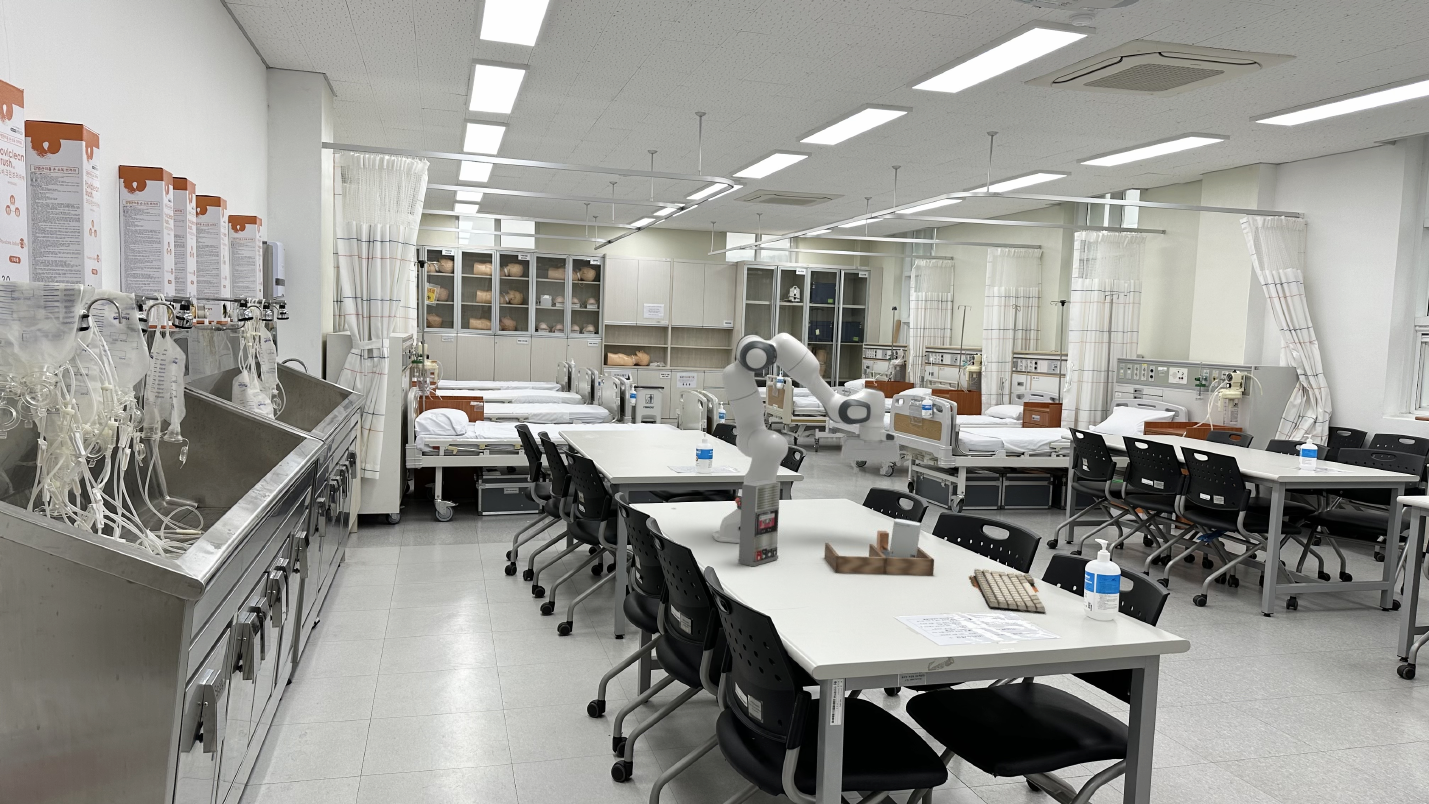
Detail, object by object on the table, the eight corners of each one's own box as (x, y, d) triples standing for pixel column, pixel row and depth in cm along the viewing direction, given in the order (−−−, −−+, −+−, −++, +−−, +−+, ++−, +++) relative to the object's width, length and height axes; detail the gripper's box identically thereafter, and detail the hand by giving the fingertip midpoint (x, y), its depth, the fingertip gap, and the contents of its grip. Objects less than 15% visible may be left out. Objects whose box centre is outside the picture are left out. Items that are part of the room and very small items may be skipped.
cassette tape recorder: (754, 567, 275) (758, 486, 273) (737, 563, 278) (741, 484, 277) (778, 560, 286) (782, 482, 284) (762, 556, 289) (766, 479, 288)
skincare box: (887, 567, 280) (892, 520, 279) (890, 563, 286) (894, 517, 285) (914, 571, 277) (919, 524, 276) (916, 567, 283) (921, 521, 282)
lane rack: (835, 572, 272) (836, 556, 272) (824, 557, 291) (825, 542, 291) (933, 575, 274) (934, 559, 274) (915, 560, 293) (916, 545, 293)
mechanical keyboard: (1058, 618, 238) (1059, 605, 237) (984, 612, 240) (984, 600, 240) (1030, 582, 275) (1030, 571, 275) (966, 577, 278) (967, 567, 277)
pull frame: (888, 571, 275) (889, 552, 275) (864, 547, 308) (865, 530, 307) (925, 572, 276) (926, 553, 275) (897, 548, 308) (898, 531, 308)
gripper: (843, 434, 310) (842, 474, 311) (901, 436, 311) (899, 475, 312) (840, 432, 316) (838, 471, 317) (897, 434, 318) (895, 472, 319)
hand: (869, 473), depth 315 cm, fingers open, 8 cm apart
